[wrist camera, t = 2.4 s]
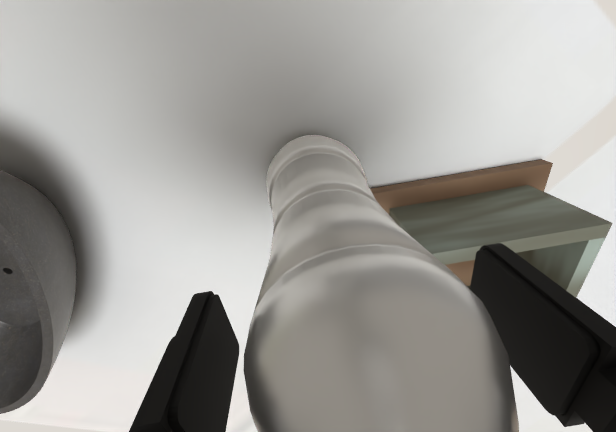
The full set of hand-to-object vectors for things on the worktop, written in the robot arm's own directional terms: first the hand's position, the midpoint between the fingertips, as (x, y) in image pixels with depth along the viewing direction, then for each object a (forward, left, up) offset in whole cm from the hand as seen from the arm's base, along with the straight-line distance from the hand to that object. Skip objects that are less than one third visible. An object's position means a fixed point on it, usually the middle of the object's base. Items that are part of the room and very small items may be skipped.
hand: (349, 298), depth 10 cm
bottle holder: (+8, +11, -12) cm, 18 cm away
